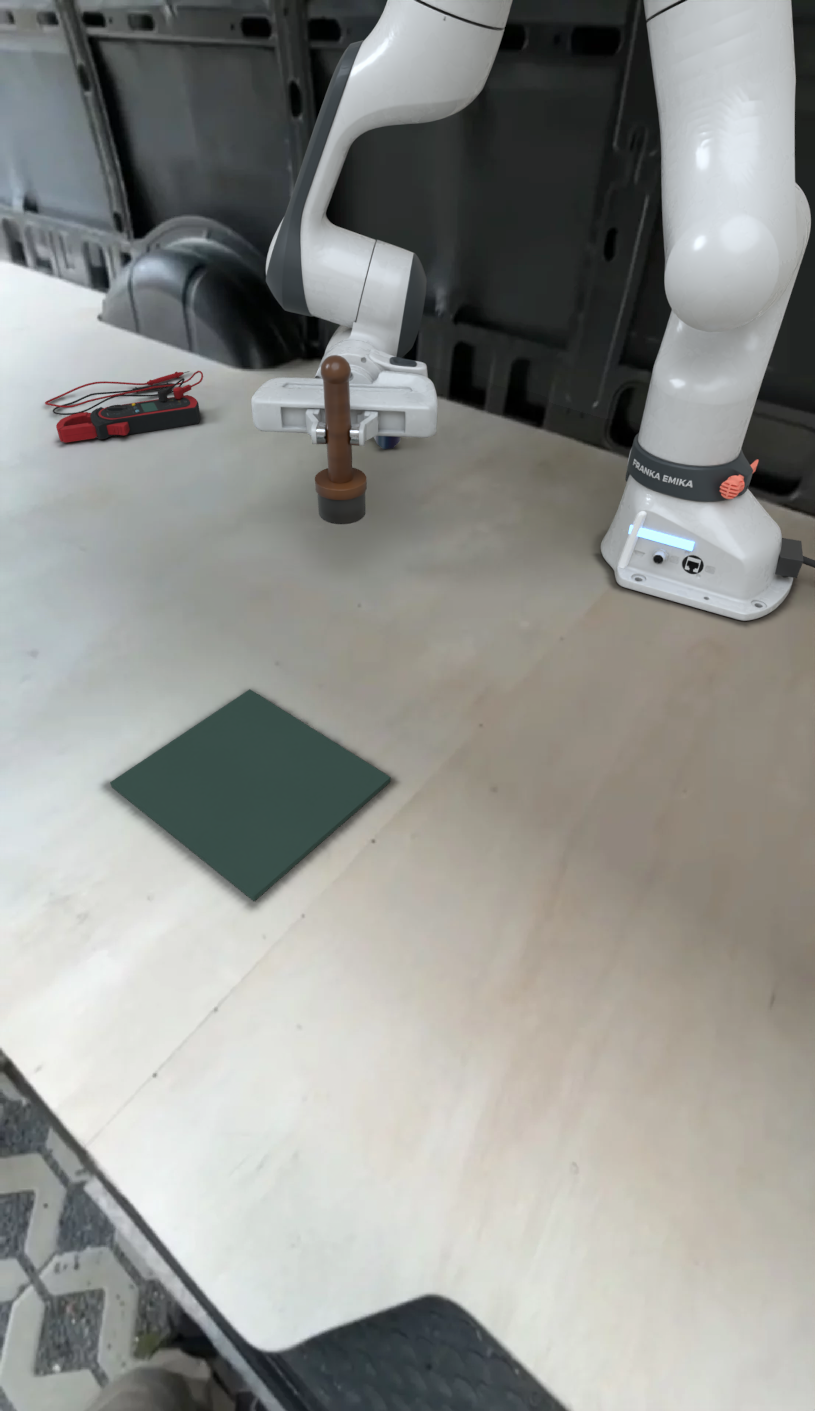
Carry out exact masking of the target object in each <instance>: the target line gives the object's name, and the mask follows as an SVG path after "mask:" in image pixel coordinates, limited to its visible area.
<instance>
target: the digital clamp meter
mask: <svg viewBox="0 0 815 1411" xmlns="http://www.w3.org/2000/svg"><path fill="white" fill-rule="evenodd" d="M190 372H191V371H190V370H187V371H174V373H171V374H167V375H164V376H159V377H157V378H153V379H149V380H147V381H146V382H124V381H123V382H122V381H107V380H106V381H105V380H103V381H94V382H93V381H92V382H88V383H85V384H83V385H79V386H77V387H75V388H72V389H70V390H68V391H66V392H64V393H61V394H59V395H57V396H54V397H52V398H50V399H48V400H45V402H44V404H45V405H46V406H51V407H54V408H53V409H52V413H53V414H55V415H59V416H65V417H63V418H61V419H60V420H59V421H58V422H57V423H56V425H55V427H56V431H57V434H58V438H59V441H60V442H61V443H66V444H67V443H72V442H73V443H74V442H80V441H86V440H92V439H95V438H97V439H98V440H107V439H108V438H111V437H122V436H129V435H135V434H143V433H149V432H154V431H162V430H167V429H174V428H179V427H186V426H191V425H192V426H193V425H198V424H199V423H200V421H201V412H200V405H199V402H198V400H197V398H196V397H194V396H192V395H189V394H185V393H188V392H190V391H191V390H192V388H194V387H195V386H197V385H199V384H201V383H202V381H203V380H204V373H203V372H202V370H197V371H194V373H193V374H192V375H191V376H190V377H188V379H186V380H185V378H180V377H182V376H183V375H184V374H188V373H190ZM197 374H200V375H201V377H200V379H199V380H198V381H197V382H196V383H194V384H186V383H188V382H189V381H191V380H192V379H193V378H194V376H196V375H197ZM173 379H179V380H178V381H176V382H174V383H173V382H167V381H170V380H173ZM163 382H166V383H163ZM159 383H160V384H159ZM98 384H112V385H113V384H115V385H129V386H135V387H134V388H131V389H127V390H116V391H103V392H94V393H90V394H86V395H85V396H82V397H80V398H78V399H76V400H74V401H71V402H68V403H63V404H61V405H60V404H54V403H51V402H52V401H55V400H57V399H60V398H62V397H64V396H66V395H69V394H71V393H73V392H75V391H77V390H80V389H82V388H85V387H88V386H93V385H98ZM183 384H186V385H184V386H183ZM137 386H140V387H137ZM149 391H157V393H156V394H155V393H154V394H138V393H142V392H149ZM133 393H136V394H133ZM170 394H173V396H170V397H168V396H169V395H170ZM97 395H105V396H100V397H95V398H92V399H87V400H85V399H86V398H90V397H93V396H97ZM118 397H140V398H141V397H158V398H156V399H149V400H143V401H136V402H130V403H124V404H113V405H109V406H105V407H102V406H100V407H97V406H99V405H101V404H103V403H105V402H107V401H109V400H112V399H115V398H118ZM82 400H84V401H82ZM99 400H100V402H98V403H95V404H94V405H92V406H91V407H89V408H86V409H83V410H80V411H77V412H76V411H75V412H62V413H61V412H57V411H56V410H57V409H60V408H63V409H65V408H67V409H70V408H75V407H78V406H82V405H84V404H87V403H91V402H94V401H99ZM80 401H82V402H80ZM78 402H79V403H78ZM96 407H97V408H96ZM94 408H95V409H94ZM92 409H94V410H92ZM90 410H92V411H91V412H89V411H90Z"/></svg>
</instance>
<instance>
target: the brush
mask: <svg viewBox="0 0 815 1411" xmlns="http://www.w3.org/2000/svg"><path fill="white" fill-rule="evenodd" d="M350 376H351V368H350V365H349V363H348V361H347V360H346V359H345V358H343V357H342V356H339V355H332V356H329V357H327V358H326V359H325V360H324V361H323V363H322V365H321V377H322V379H323V389H324V406H325V424H326V441H327V444H326V457H327V459H326V460H327V468H325V469H322V470H320V471H318V472H317V473H316V474H315V476H314V489H315V492H316V493H317V505H318V506H317V507H318V508H317V509H318V515H319V518H320V519H322V521H325V522H327V523H328V524H333V525H350V524H354V523H357V522H359V521H361V520H362V519H363V518H364V517H365V515H366V491H367V487H368V485H367V484H368V479H367V475H366V473H365V472H364V471H362V470H361V469H359V468H355V467H353V445H350V438H351V437H350V428H351V414H350V385H349V379H350Z"/></svg>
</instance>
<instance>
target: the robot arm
mask: <svg viewBox="0 0 815 1411" xmlns="http://www.w3.org/2000/svg"><path fill="white" fill-rule="evenodd" d="M513 1H514V0H387V1H386V4H385V6H384V9H383V12H382V13H381V15H380V18H379V19H378V21H377V23H376V24H375V26H374V28H373V29H372V30H371V32H370V33H369V34H368V36H366V38H365V39H364V40H359V41H355V42H352V43H350V44H349V45H348V46H347V47H346V49H345V50H344V52H343V54H342V55H341V57H340V59H339V61H338V63H337V64H336V67H335V69H334V72H333V73H332V76H331V79H330V82H329V84H328V87H327V90H326V92H325V95H324V99H323V101H322V104H321V106H320V110H319V113H318V115H317V117H316V121H315V124H314V127H313V130H312V133H311V136H310V138H309V141H308V145H307V148H306V150H305V153H304V156H303V159H302V163H301V166H300V169H299V172H298V175H297V177H296V181H295V184H294V186H293V189H292V193H291V196H290V199H289V201H288V205H287V208H286V210H285V213H284V216H283V218H282V220H281V221H280V223H279V225H278V227H277V229H276V231H275V233H274V235H273V237H272V240H271V242H270V245H269V247H268V252H267V255H266V261H265V283H266V284H267V286H268V289H269V291H270V293H271V294H272V296H273V297H274V298H275V300H276V301H277V303H278V304H279V305H280V306H281V308H282V309H283V310H284V311H286V312H289V313H294V314H298V315H303V316H307V317H311V318H312V317H315V318H319V319H321V320H325V321H327V322H331V323H333V324H337V325H339V326H338V327H337V329H336V330H335V331H334V333H333V334H332V335H331V337H330V339H329V341H328V344H327V346H326V348H325V350H324V354H323V356H322V359H321V360H320V363H319V365H318V368H317V370H316V372H315V375H314V377H294V376H293V377H289V376H288V377H287V376H281V377H273V378H270V379H268V380H265V382H263V383H262V384H261V385H260V387H258V388H257V389H256V391H255V392H254V393H253V395H252V397H251V400H250V406H251V415H252V416H251V417H252V423H253V426H254V427H255V428H256V429H257V430H258V431H260V432H263V433H264V432H265V433H269V432H270V433H293V434H295V433H296V434H308V435H309V436H310V437H311V444H312V445H327V441H326V424H325V406H324V389H323V379H322V377H321V365H322V363H323V361H324V360H325V359H326V358H327V357H329V356H332V355H339V356H342V357H343V358H345V359H346V360H347V361H348V363H349V365H350V368H351V376H350V379H349V385H350V414H351V428H350V437H351V438H350V445H352V446H354V447H355V446H356V447H365V444H366V442H367V441H368V440H370V439H374V437H375V436H395V437H401V438H422V439H423V438H424V439H427V438H428V439H429V438H431V437H433V436H435V435H436V434H437V427H438V395H437V390H436V387H435V384H434V382H433V381H432V380H431V379H430V378H429V375H428V372H429V371H428V366H427V364H426V363H425V362H422V361H418V360H413V359H409V358H403V357H404V356H405V355H407V354H408V353H409V352H410V351H411V350H412V349H413V347H414V345H415V342H416V339H417V337H418V334H419V331H420V328H421V325H422V324H421V323H422V318H423V314H424V309H425V302H426V296H427V287H428V278H427V276H426V275H427V274H426V273H425V270H424V267H423V263H422V262H421V260H420V258H419V256H418V255H417V254H416V252H413V251H410V250H408V249H406V248H402V247H400V246H398V245H394V244H391V243H389V242H385V241H383V240H380V239H375V238H371V237H370V236H366V235H363V234H359V233H357V232H354V231H352V230H349V229H346V228H343V227H340V226H338V225H335V224H333V223H332V222H331V221H330V220H329V218H328V216H327V210H328V207H329V204H330V202H331V199H332V197H333V193H334V191H335V188H336V186H337V183H338V181H339V177H340V174H341V172H342V169H343V166H344V165H345V164H344V163H345V162H346V159H347V155H348V153H349V150H350V148H351V146H352V145H353V143H354V142H355V140H356V139H358V138H359V137H360V136H361V135H363V134H364V133H367V132H369V131H371V130H374V129H378V128H382V127H383V128H384V127H389V126H399V125H401V126H403V125H410V124H411V125H416V124H426V123H432V122H435V121H440V120H442V119H446V118H449V117H451V116H453V115H455V114H457V113H459V112H461V111H462V110H464V109H466V108H467V107H468V106H470V104H471V103H473V102H474V100H475V99H476V98H477V97H478V96H479V95H480V93H481V92H482V91H483V90H484V88H485V85H486V82H487V81H488V77H489V76H490V73H491V70H492V68H493V66H494V63H495V60H496V57H497V54H498V52H499V48H500V45H501V43H502V39H503V36H504V32H505V27H507V26H506V25H507V22H508V18H509V15H510V11H511V8H512V4H513ZM643 7H644V15H645V21H646V30H647V39H648V46H649V55H650V60H651V68H652V77H653V85H654V91H655V99H656V107H657V113H658V114H657V115H658V124H659V125H658V126H659V137H660V158H661V160H660V170H661V171H660V174H661V175H660V178H661V179H660V180H661V184H660V186H661V212H662V214H661V216H662V234H663V235H662V236H663V249H664V251H663V252H664V275H663V276H664V278H663V279H664V280H663V282H664V291H665V296H666V299H667V302H668V304H669V307H670V309H671V311H670V314H669V318H668V321H667V324H666V327H665V330H664V334H663V337H662V340H661V342H660V343H661V344H660V347H659V350H658V352H657V355H656V358H655V361H654V364H653V366H652V367H653V368H652V373H651V377H650V380H649V386H648V390H647V395H646V399H645V403H644V404H645V405H644V409H643V413H642V418H641V422H640V427H639V430H638V431H639V432H638V433H636V435H635V436H634V438H633V442H632V446H631V448H630V450H629V454H628V460H627V463H626V473H625V477H624V478H625V482H626V483H625V487H624V490H623V493H622V496H621V499H620V502H619V503H618V507H617V509H616V512H615V514H614V517H613V519H612V520H611V521H612V522H611V523H610V525H609V527H608V529H607V531H606V533H605V535H604V537H603V538H602V541H601V543H600V552H601V555H602V557H603V559H604V560H605V561H606V563H607V564H608V565H609V567H611V568H612V570H613V572H614V579H615V581H616V583H617V584H618V585H619V586H620V587H623V588H625V589H629V590H632V591H636V592H640V593H643V594H647V595H650V596H653V597H657V598H660V599H663V600H668V601H670V602H675V603H678V604H681V605H685V606H688V607H691V608H694V609H695V608H696V609H700V610H703V611H705V612H706V611H707V612H709V613H713V614H717V615H719V616H724V617H727V618H731V619H733V620H737V621H742V622H746V621H747V622H749V621H752V620H757V619H759V618H762V617H765V616H767V615H769V614H770V613H772V612H773V611H775V610H776V609H777V608H778V607H779V606H780V605H781V604H782V603H783V602H784V601H785V600H786V598H787V597H788V595H789V594H790V592H791V589H792V585H793V582H794V579H797V578H798V575H799V573H800V571H801V569H802V566H803V565H806V566H807V567H811V568H814V569H815V559H813V558H810V557H807V556H805V555H804V553H803V544H802V540H799V539H792V538H785V537H783V534H782V530H781V528H780V526H779V524H778V523H777V522H776V520H774V519H773V517H772V516H771V515H770V514H769V512H767V510H766V509H765V508H764V506H763V505H762V504H761V503H760V502H759V500H758V499H757V498H756V497H755V496H754V494H753V493H752V491H750V489H749V486H750V485H751V484H750V483H751V480H752V477H753V474H754V473H755V472H756V470H757V467H758V465H759V461H760V460H759V459H757V458H756V459H755V460H754V461H753V462H752V463H751V464H750V462H749V461H748V459H747V458H746V456H745V454H744V452H743V449H742V447H743V443H744V440H745V438H746V434H747V430H748V429H749V428H748V427H749V424H750V421H751V418H752V416H753V412H754V409H755V405H756V402H757V398H758V396H759V392H760V390H761V387H762V383H763V379H764V376H765V373H766V371H767V368H768V364H769V362H770V359H771V356H772V353H773V350H774V347H775V344H776V341H777V338H778V334H779V331H780V329H781V326H782V323H783V319H784V316H785V313H786V310H787V307H788V303H789V300H790V298H791V294H792V292H793V288H794V286H795V283H796V280H797V276H798V273H799V270H800V267H801V264H802V262H803V258H804V255H805V252H806V249H807V245H808V242H809V239H810V234H811V226H812V217H811V216H812V215H811V208H810V205H809V202H808V199H807V196H806V195H805V193H804V191H803V189H802V188H801V187H800V186H799V185H798V183H797V182H796V155H795V154H796V153H795V151H796V149H795V147H796V139H795V136H796V134H795V131H796V130H795V127H796V126H795V125H796V120H795V118H796V117H795V116H796V115H795V114H796V113H795V112H796V85H797V84H796V83H797V79H796V78H797V77H796V76H797V74H796V58H795V42H794V25H793V24H794V23H793V7H792V0H643Z"/></svg>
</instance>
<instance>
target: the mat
mask: <svg viewBox="0 0 815 1411" xmlns="http://www.w3.org/2000/svg"><path fill="white" fill-rule="evenodd" d="M391 779H392V778H391V776H390V775H388V774H387V773H385V772H383V771H382V770H380V769H378V768H377V767H375V766H373V765H372V764H370V763H369V762H368V761H365V760H364V759H362V758H361V757H359V756H358V755H356V754H354V753H353V752H351V751H350V750H348V749H346V748H345V747H343V746H341V745H340V744H338V743H337V742H335V741H334V740H332V739H330V738H329V737H327V736H325V735H324V734H322V733H320V732H319V731H317V730H316V729H314V728H313V727H311V726H309V725H308V724H307V723H305V722H303V721H301V720H300V719H298V718H297V717H295V716H294V715H292V714H290V713H288V712H287V711H285V709H282V708H281V707H280V706H278V705H277V704H274V703H272V702H271V701H270V700H268V699H266V698H265V697H263V696H262V695H260V694H259V693H257V692H255V691H254V690H252V689H247V690H246V691H245V692H243V693H242V694H240V695H239V696H237V697H236V698H234V699H233V700H231V701H230V702H228V703H227V704H225V705H224V706H223V707H221V708H219V709H218V710H216V711H215V712H213V713H211V714H210V715H209V716H207V717H206V718H205V719H203V720H201V721H200V722H198V723H197V724H195V725H194V726H192V727H191V728H189V729H188V730H186V731H184V732H183V733H182V734H180V735H179V736H177V737H176V738H175V739H172V740H171V741H170V742H168V743H167V744H165V745H164V746H163V747H161V748H159V749H157V751H155V752H154V753H152V754H150V755H149V756H148V757H146V758H144V759H142V760H141V761H140V762H138V763H137V764H135V765H134V766H132V767H131V768H129V769H128V770H127V771H125V772H123V773H122V774H120V775H119V776H117V777H116V778H114V779H112V780H111V781H110V782H109V784H110V788H112V789H114V790H115V791H116V792H117V793H118V794H120V796H122V797H123V798H124V799H126V800H127V801H128V802H130V804H132V805H133V806H135V807H136V808H137V809H139V811H141V812H142V813H143V814H144V815H146V816H148V818H150V819H151V820H152V821H153V822H155V823H156V824H157V825H158V826H159V827H161V828H162V829H163V830H164V831H166V832H167V833H168V834H169V835H171V836H172V837H173V838H174V839H176V840H177V842H179V843H181V844H182V845H183V846H184V847H185V848H186V849H188V850H189V851H191V852H192V853H193V854H194V855H196V856H197V857H198V858H199V859H200V860H202V861H203V862H204V863H206V864H207V865H208V867H210V868H212V869H213V870H214V871H215V872H217V873H218V874H219V875H220V876H222V877H223V878H224V879H225V880H227V881H228V882H229V883H230V884H231V885H233V886H234V887H235V888H236V889H238V890H239V891H240V892H242V893H243V894H244V895H245V896H247V897H248V898H249V900H251V901H253V902H255V901H256V900H258V899H259V898H260V897H261V896H262V895H263V894H265V893H266V892H267V891H268V890H269V889H270V888H271V887H272V886H273V885H275V884H276V883H277V882H278V881H279V880H280V879H281V878H283V877H284V876H285V875H286V874H287V873H289V871H291V870H292V869H293V868H294V867H295V866H296V865H298V864H299V863H300V862H301V861H302V860H303V859H304V858H305V857H307V856H308V855H309V854H310V853H311V852H313V851H314V849H316V848H317V847H318V846H319V845H320V844H321V843H323V842H324V841H325V840H326V839H327V838H329V837H330V835H332V834H333V833H334V832H335V831H337V829H338V828H339V827H341V826H343V824H344V823H345V822H347V820H348V819H350V818H352V816H353V815H354V814H356V813H357V812H358V811H359V810H360V809H361V808H363V807H364V806H365V805H366V804H367V803H368V802H369V801H371V800H372V799H373V798H374V797H375V796H376V795H377V794H378V793H380V792H381V791H382V790H383V789H384V788H385V787H386V786H388V784H390V783H391V781H392V780H391Z"/></svg>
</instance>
